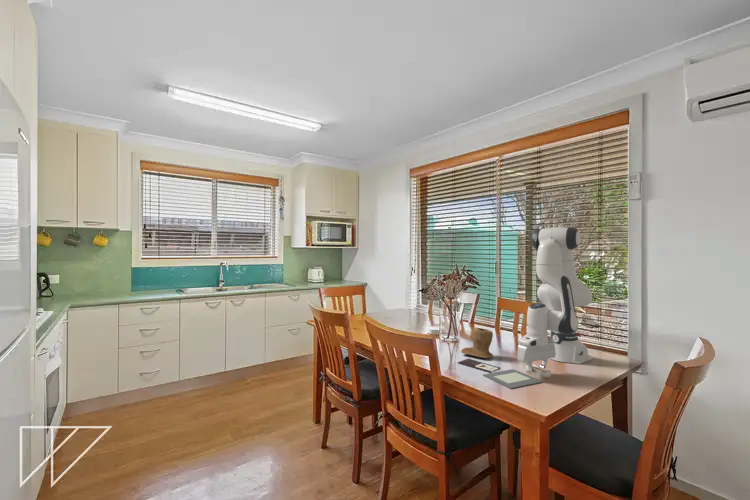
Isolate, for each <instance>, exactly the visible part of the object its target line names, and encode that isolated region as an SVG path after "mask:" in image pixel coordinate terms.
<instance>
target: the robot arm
mask: <svg viewBox="0 0 750 500" xmlns="http://www.w3.org/2000/svg"><path fill="white" fill-rule="evenodd" d="M530 243H531V246H532V247H533V249H534V250H535V251H537V252H536V260H535V261H536V263H535V264H536V265H535V272H536V276H537V277H538V279H539V280H540V281H541V282H543V283H541V284H540V286H539V287H538V288H537V292H536V295H537V298H538V299H539V301H540V303H538V302H537V303H536V302H535V303H531V304H529V305H528V307H527V308H528V309H527V314H526V325H527V329H526V334H524V335H523V336H521V337H519V338H518V341H517V343H518V344H519V345H518V346H517V347H518V348H517V359H518V361H519V362H522V363H523V364H526V365H528V370H529V371H534V367H532V364H533V362H536V361H537V362H538V361H541V363H540V364H539V367H542V368H544V369H547V368H546V367H547V364H548V361H549V360H552V361H557V362H561V363H567V364H568V363H569V364H571V363H572V364H577V365H580V364H583V363H586V362H588V361H592V360H593V359H594V356H592V355H590V354H588V353H589V352H588V350H589V349H588V347H587V346H586V345H585V344H584V343H583V342H582V341H580V340H579V338H581V337H582V333H581V332H577V330H578V329H579V319H578V315H577V313H576V309H575V307H587V306H589V305H590V304H591V303H592V300H593V292H592V290H591V289H590V288H589V287H588V286H587V285H585V284H584V283H583V282H582V281H581V280H580V279H579V277H578V276H577V273H576V269H575V260H574V259H575V258H574V249H577V248H578V247H579V246H580V243H581V234H580V231H579V230H578V229H577V228H576V227H572V226H569V227H562V226H555V227H547V228H541V227H540V228H536V229H534V230H533V231H532V232H531V235H530ZM548 331H550V337H549V334H548V333H549V332H548ZM548 359H549V360H548Z"/></svg>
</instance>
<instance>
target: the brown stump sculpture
mask: <svg viewBox="0 0 750 500" xmlns="http://www.w3.org/2000/svg"><path fill="white" fill-rule="evenodd" d="M493 335H494V334H493V331H492V330H490V329H487V328H482V327H481V328H480V327H474V328H473V329H472V335H471V337H472V344H473V345H472V347H463V348H462V349H461V353H462V354H464V355H468V356H472V357H477V358H480V359H490V358H493V356H494V354H493V353H491V352H490V350H489V349H490V346H491V344H492V341H493V338H494V337H493Z"/></svg>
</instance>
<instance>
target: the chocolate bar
mask: <svg viewBox="0 0 750 500" xmlns="http://www.w3.org/2000/svg"><path fill="white" fill-rule="evenodd" d="M457 364H459V365H462V366H465V367H468V368H471V369H475V370H479V371H482V372H486V373H487V374H488V373H494V372H496V371H498V370H500V368H501V367H499V366H496V365H492V364H489V363H485V362H482V361H478V360H474V359H471V358H467V359H464V360H460V361H458V362H457Z"/></svg>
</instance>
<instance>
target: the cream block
mask: <svg viewBox="0 0 750 500" xmlns="http://www.w3.org/2000/svg"><path fill="white" fill-rule="evenodd" d="M531 365H532V367H534V371H529V370H528V365H527V364H526V365H523V373H525V374H527V375H530V376H532V377H534V378H537V379H539V380H541V379H547V378H551V377H552V370H549V369H547V368H545V369H544V368H542V367H540V365H539V366H538V365H536V364H534V363H532V364H531Z"/></svg>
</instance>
